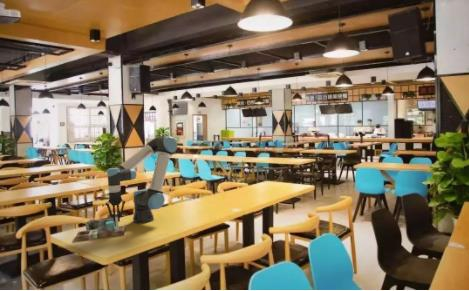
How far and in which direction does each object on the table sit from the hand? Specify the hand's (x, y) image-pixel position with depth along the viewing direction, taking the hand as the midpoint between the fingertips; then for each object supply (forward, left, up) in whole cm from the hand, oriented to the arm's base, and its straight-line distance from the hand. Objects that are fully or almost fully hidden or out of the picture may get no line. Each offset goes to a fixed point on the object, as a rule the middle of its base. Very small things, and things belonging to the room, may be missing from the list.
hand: (117, 226), depth 237 cm
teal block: (+4, 0, -2) cm, 4 cm away
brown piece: (+10, 0, -5) cm, 11 cm away
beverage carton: (+12, -19, -5) cm, 23 cm away
